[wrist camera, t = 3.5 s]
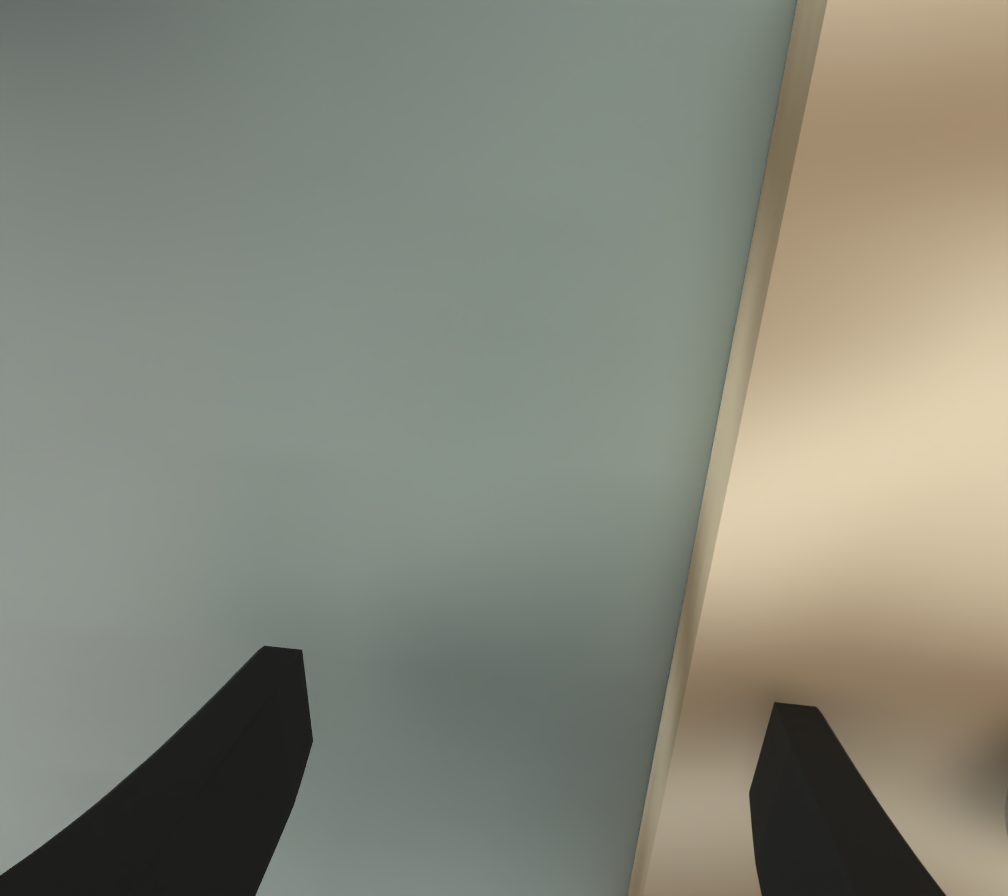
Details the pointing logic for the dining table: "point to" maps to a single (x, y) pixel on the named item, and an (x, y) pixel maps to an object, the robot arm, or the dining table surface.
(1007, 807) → the steel ball
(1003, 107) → the birch board
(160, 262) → the dining table surface
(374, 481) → the dining table surface
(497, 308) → the dining table surface
